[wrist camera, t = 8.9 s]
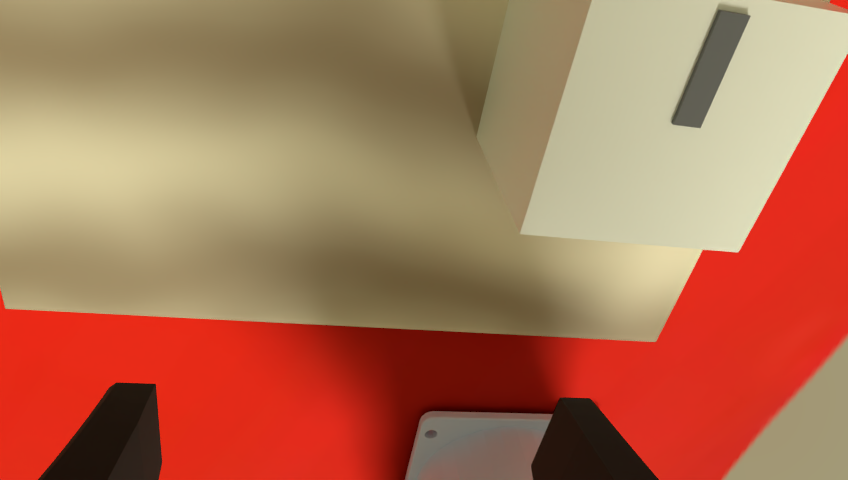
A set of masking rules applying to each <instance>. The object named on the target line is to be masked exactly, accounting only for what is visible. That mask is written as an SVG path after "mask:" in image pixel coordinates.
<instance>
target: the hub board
mask: <svg viewBox="0 0 848 480" xmlns="http://www.w3.org/2000/svg"><path fill="white" fill-rule="evenodd" d="M823 1H825V2H828V3H829V2H830V0H823ZM508 2H509V0H0V289H1V293H2V297H3V301H4V305H5V309H23V310H43V311H62V312H82V313H101V314H121V315H140V316H160V317H179V318H199V319H218V320H238V321H258V322H277V323H297V324H316V325H336V326H355V327H375V328H394V329H414V330H433V331H453V332H472V333H492V334H511V335H531V336H550V337H570V338H590V339H609V340H629V341H648V342H656V340H657V338H658V336H659V334H660V332H661V330H662V329H663V327H664V325H665V323H666V321H667V319H668V317H669V315H670V313H671V311H672V309H673V307H674V305H675V303H676V301H677V299H678V297H679V295H680V293H681V291H682V289H683V287H684V285H685V284H686V282H687V280H688V278H689V276H690V274H691V272H692V270H693V268H694V266H695V264H696V262H697V260H698V258H699V256H700V254H701V252H702V250H703V249H692V248H680V247H668V246H656V245H644V244H632V243H620V242H608V241H596V240H584V239H572V238H560V237H548V236H536V235H524V234H520V233H519V231H518V229H517V227H516V224H515V222H514V220H513V218H512V216H511V213H510V211H509V209H508V207H507V204H506V202H505V200H504V198H503V195H502V193H501V191H500V189H499V186H498V184H497V182H496V180H495V178H494V175H493V173H492V171H491V169H490V166H489V164H488V162H487V160H486V157H485V155H484V153H483V151H482V149H481V146H480V144H479V142H478V140H477V137H476V136H477V132H478V128H479V124H480V120H481V115H482V111H483V107H484V103H485V99H486V94H487V90H488V86H489V82H490V78H491V73H492V69H493V65H494V61H495V57H496V52H497V48H498V44H499V40H500V36H501V31H502V27H503V23H504V19H505V15H506V10H507V6H508Z"/></svg>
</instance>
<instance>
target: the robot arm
mask: <svg viewBox="0 0 848 480" xmlns="http://www.w3.org/2000/svg"><path fill="white" fill-rule="evenodd" d="M429 430H431V431H429ZM161 465H162V456H161V444H160V431H159V419H158V407H157V395H156V384H139V383H115V384H114V385H112V386H111V387H110V388H109V389H108V390H107V392H106V393H105V395H104V396H103V398H102V399H101V400H100V402H99V403H98V405H97V406H96V407H95V409H94V410H93V411H92V413H91V414H90V415H89V417H88V418H87V419H86V421H85V422H84V423H83V425H82V426H81V427H80V429H79V430H78V431H77V432H76V434H75V435H74V436H73V438H72V439H71V440H70V441H69V443H68V444H67V445H66V446H65V448H64V449H63V450H62V451H61V453H60V454H59V455H58V456H57V458H56V459H55V460H54V461H53V463H52V464H51V465H50V466H49V467H48V468H47V470H46V471H45V472H44V473H43V474H42V476H41V477H40V478H39V479H38V480H158V479H159V475H160V470H161ZM405 480H659V479H658V478H657V477H656V476H655V475H654V474H653V472H652V471H651V470H650V469H649V468H648V467H647V465H646V464H645V463H644V462H643V461H642V460H641V458H640V457H639V456H638V455H637V454H636V452H635V451H634V450H633V449H632V448H631V447H630V445H629V444H628V443H627V442H626V441H625V439H624V438H623V437H622V436H621V435H620V433H619V432H618V431H617V430H616V429H615V427H614V426H613V425H612V424H611V423H610V421H609V420H608V419H607V418H606V417H605V415H604V414H603V413H602V412H601V411H600V410H599V408H598V407H597V406H596V405H595V404H594V403H593V401H592V400H591V399H589V398H560V399H559V401H558V404H557V406H556V408H555V411H554V413H553V414H531V413H491V412H451V411H430V412H427V413H425V414H424V415H423V416H422V417H421V418H420V421H419V425H418V429H417V433H416V437H415V441H414V445H413V449H412V453H411V457H410V461H409V465H408V469H407V473H406V476H405Z"/></svg>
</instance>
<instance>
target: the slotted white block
mask: <svg viewBox="0 0 848 480" xmlns="http://www.w3.org/2000/svg"><path fill="white" fill-rule="evenodd" d="M847 54H848V10H847V9H844V8H842V7H839V6H836V5H833V4H831V3H828V2H825V1H823V0H509V2H508V6H507V10H506V15H505V19H504V23H503V27H502V31H501V36H500V40H499V44H498V48H497V52H496V57H495V61H494V65H493V69H492V73H491V78H490V82H489V86H488V90H487V94H486V99H485V103H484V107H483V111H482V115H481V120H480V124H479V128H478V132H477V136H476V137H477V140H478V142H479V144H480V146H481V149H482V151H483V153H484V155H485V157H486V160H487V162H488V164H489V166H490V169H491V171H492V173H493V175H494V178H495V180H496V182H497V184H498V186H499V189H500V191H501V193H502V195H503V198H504V200H505V202H506V204H507V207H508V209H509V211H510V213H511V216H512V218H513V220H514V222H515V224H516V227H517V229H518V231H519V233H520V234H524V235H536V236H548V237H560V238H572V239H584V240H596V241H608V242H620V243H632V244H644V245H656V246H668V247H680V248H692V249H704V250H716V251H728V252H739V250H740V249H741V247H742V245H743V243H744V241H745V239H746V238H747V236H748V234H749V232H750V230H751V228H752V227H753V225H754V223H755V221H756V219H757V218H758V216H759V214H760V212H761V210H762V208H763V207H764V205H765V203H766V201H767V199H768V197H769V196H770V194H771V192H772V190H773V188H774V187H775V185H776V183H777V181H778V179H779V177H780V176H781V174H782V172H783V170H784V168H785V166H786V165H787V163H788V161H789V159H790V157H791V156H792V154H793V152H794V150H795V148H796V146H797V145H798V143H799V141H800V139H801V137H802V136H803V134H804V132H805V130H806V128H807V126H808V125H809V123H810V121H811V119H812V117H813V115H814V114H815V112H816V110H817V108H818V106H819V105H820V103H821V101H822V99H823V97H824V95H825V94H826V92H827V90H828V88H829V86H830V84H831V83H832V81H833V79H834V77H835V75H836V74H837V72H838V70H839V68H840V66H841V64H842V63H843V61H844V59H845V57H846V55H847Z"/></svg>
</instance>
